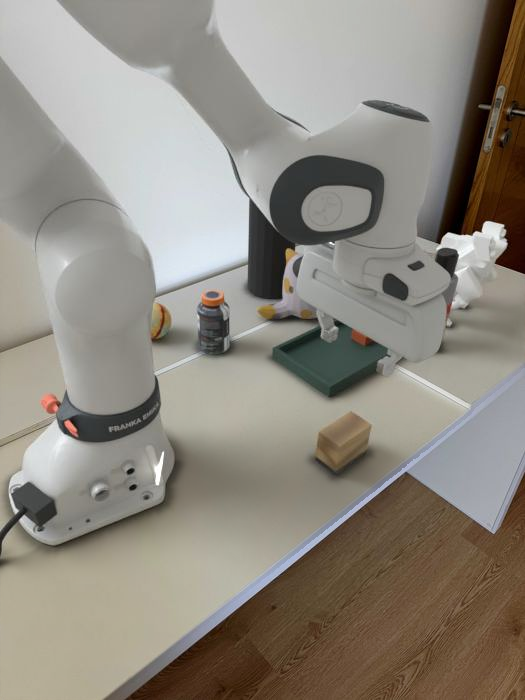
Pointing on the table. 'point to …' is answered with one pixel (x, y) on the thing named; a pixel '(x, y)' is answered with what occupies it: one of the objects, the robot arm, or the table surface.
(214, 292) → the pill bottle
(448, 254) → the spray bottle
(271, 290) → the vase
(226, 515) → the table surface
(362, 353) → the tray
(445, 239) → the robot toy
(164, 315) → the ball
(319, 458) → the tan brown block
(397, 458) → the table surface
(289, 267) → the figurine
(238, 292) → the table surface
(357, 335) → the orange red square block
